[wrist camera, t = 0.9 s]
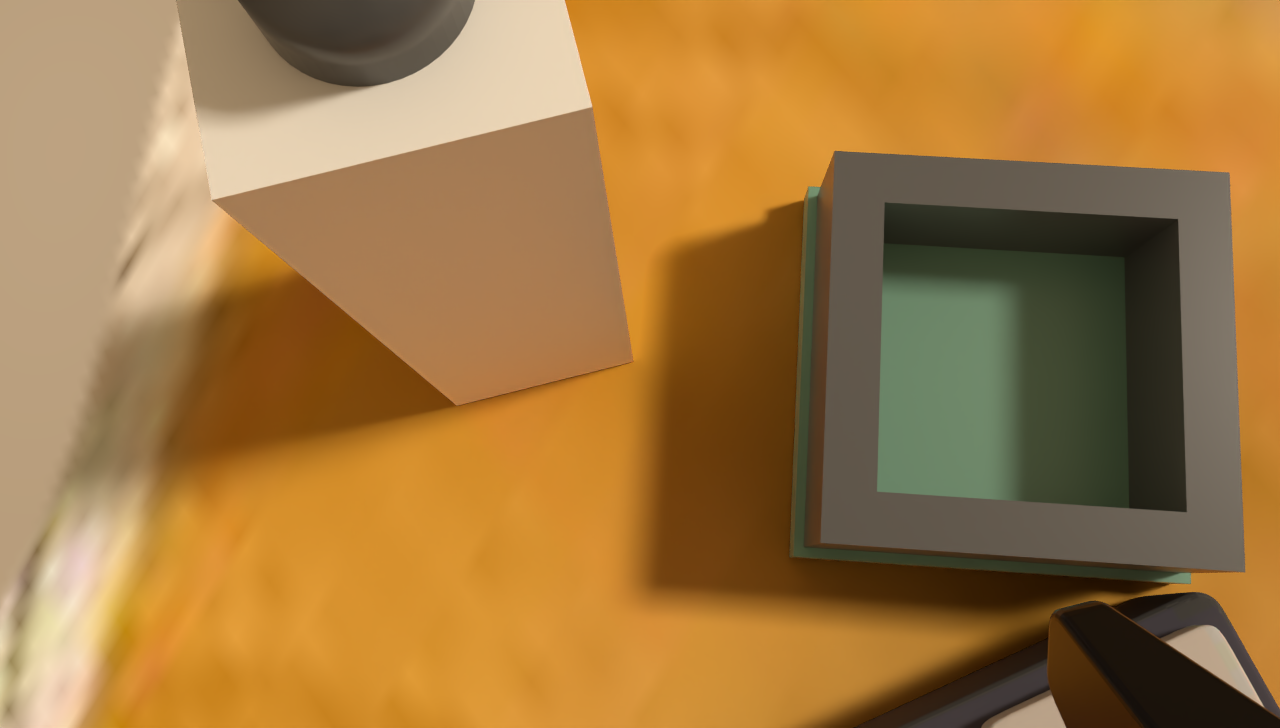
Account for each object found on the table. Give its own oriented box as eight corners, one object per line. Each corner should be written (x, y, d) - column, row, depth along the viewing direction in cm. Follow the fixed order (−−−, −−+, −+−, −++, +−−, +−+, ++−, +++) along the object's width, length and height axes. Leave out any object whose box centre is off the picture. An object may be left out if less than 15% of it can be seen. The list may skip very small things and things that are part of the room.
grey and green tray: (1172, 584, 23) (1256, 583, 19) (789, 557, 23) (809, 553, 20) (1163, 219, 24) (1239, 163, 21) (804, 199, 24) (824, 140, 21)
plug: (633, 361, 24) (583, 50, 10) (457, 405, 24) (157, 154, 10) (591, 195, 25) (490, -309, 11) (420, 237, 25) (95, -216, 11)
